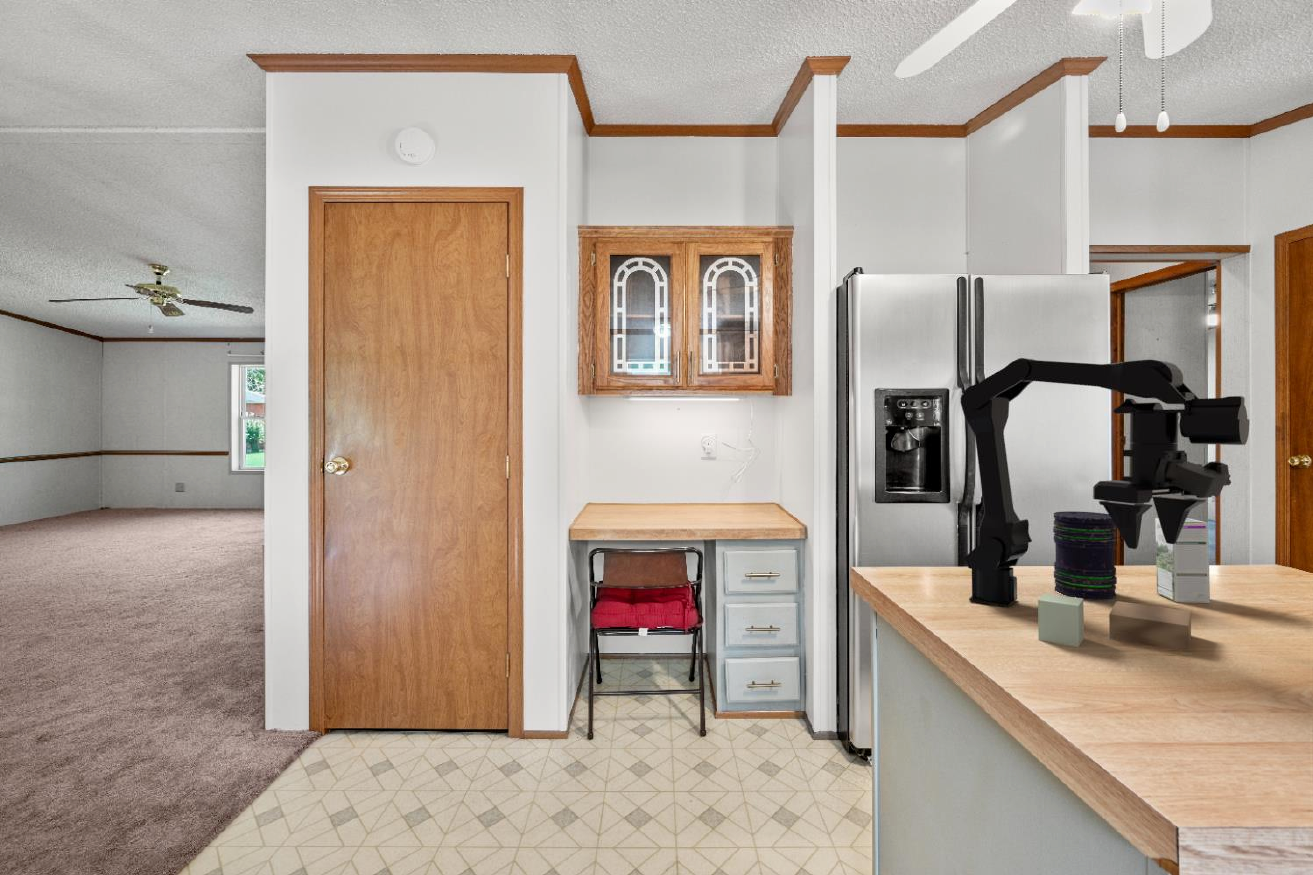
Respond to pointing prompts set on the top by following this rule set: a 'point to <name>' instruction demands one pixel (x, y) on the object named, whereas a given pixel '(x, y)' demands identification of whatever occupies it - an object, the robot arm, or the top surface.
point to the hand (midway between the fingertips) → (1152, 546)
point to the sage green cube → (1061, 619)
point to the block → (1151, 625)
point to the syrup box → (1184, 564)
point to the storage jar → (1085, 555)
